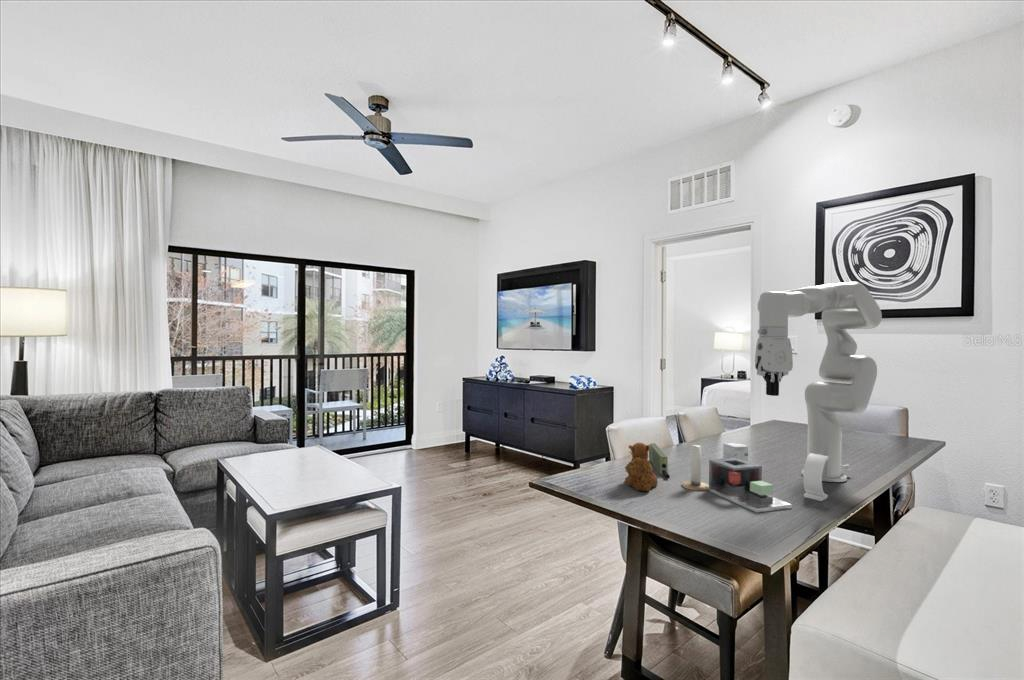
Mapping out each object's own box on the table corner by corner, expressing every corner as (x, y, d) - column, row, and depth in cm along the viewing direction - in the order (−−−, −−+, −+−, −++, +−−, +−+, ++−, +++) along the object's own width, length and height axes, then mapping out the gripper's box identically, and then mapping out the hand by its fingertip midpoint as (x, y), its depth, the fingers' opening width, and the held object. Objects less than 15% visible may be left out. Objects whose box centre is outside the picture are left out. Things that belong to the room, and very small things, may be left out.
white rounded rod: (702, 485, 150) (703, 446, 149) (694, 486, 149) (695, 447, 149) (696, 483, 152) (697, 444, 152) (688, 483, 151) (689, 445, 151)
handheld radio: (657, 460, 182) (673, 480, 157) (648, 461, 183) (663, 480, 158) (657, 443, 182) (672, 460, 157) (648, 443, 183) (662, 460, 158)
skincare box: (733, 467, 173) (733, 446, 173) (722, 463, 179) (722, 443, 179) (748, 466, 175) (748, 446, 174) (736, 462, 180) (737, 442, 180)
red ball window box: (737, 486, 151) (737, 456, 151) (791, 508, 132) (792, 474, 132) (705, 489, 148) (705, 459, 148) (756, 512, 129) (756, 478, 129)
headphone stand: (827, 497, 141) (828, 456, 141) (820, 501, 138) (821, 459, 137) (810, 493, 145) (810, 453, 145) (802, 497, 141) (803, 456, 141)
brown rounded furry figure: (657, 482, 155) (657, 440, 155) (658, 496, 141) (658, 451, 141) (625, 479, 158) (625, 438, 158) (623, 493, 144) (623, 448, 144)
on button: (761, 494, 137) (761, 480, 137) (772, 499, 133) (773, 484, 133) (749, 496, 136) (750, 481, 136) (761, 500, 132) (761, 486, 132)
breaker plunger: (735, 485, 146) (735, 470, 146) (743, 488, 143) (743, 473, 143) (725, 486, 145) (726, 471, 145) (734, 489, 142) (734, 474, 142)
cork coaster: (698, 481, 155) (698, 480, 155) (715, 489, 148) (715, 487, 148) (676, 484, 153) (676, 482, 153) (693, 491, 145) (693, 489, 145)
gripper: (763, 333, 139) (762, 397, 139) (803, 333, 143) (802, 396, 144) (743, 333, 146) (742, 394, 146) (782, 333, 151) (781, 393, 151)
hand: (772, 395), depth 145 cm, fingers closed
